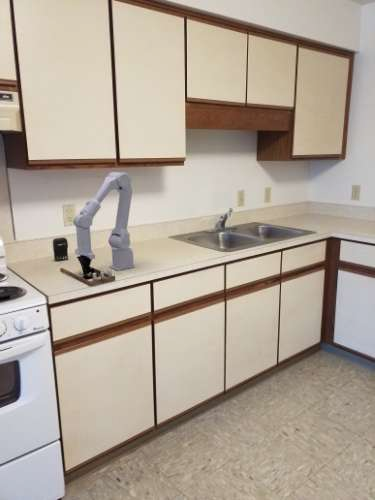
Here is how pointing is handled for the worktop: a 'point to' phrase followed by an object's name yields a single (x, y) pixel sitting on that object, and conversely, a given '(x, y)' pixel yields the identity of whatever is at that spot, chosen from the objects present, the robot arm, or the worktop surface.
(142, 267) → the worktop surface
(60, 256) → the battery charger
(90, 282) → the loading bay
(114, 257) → the robot arm
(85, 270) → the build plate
